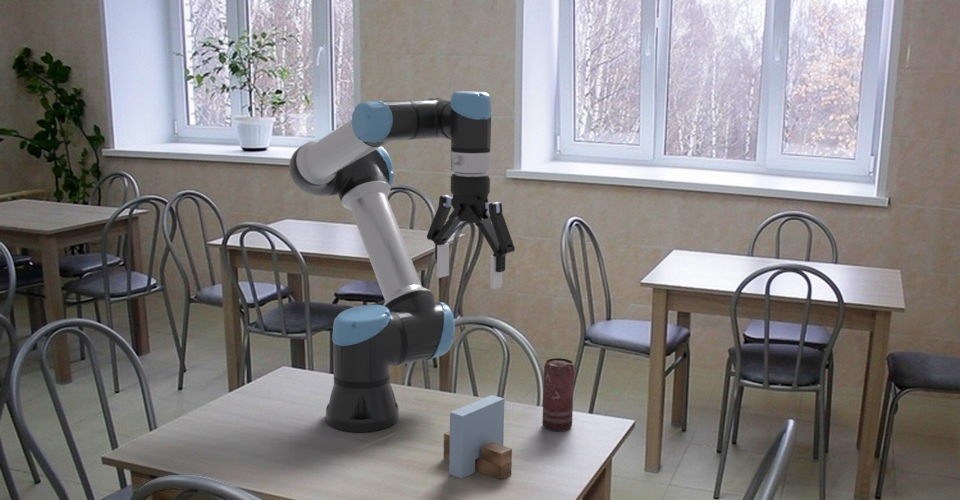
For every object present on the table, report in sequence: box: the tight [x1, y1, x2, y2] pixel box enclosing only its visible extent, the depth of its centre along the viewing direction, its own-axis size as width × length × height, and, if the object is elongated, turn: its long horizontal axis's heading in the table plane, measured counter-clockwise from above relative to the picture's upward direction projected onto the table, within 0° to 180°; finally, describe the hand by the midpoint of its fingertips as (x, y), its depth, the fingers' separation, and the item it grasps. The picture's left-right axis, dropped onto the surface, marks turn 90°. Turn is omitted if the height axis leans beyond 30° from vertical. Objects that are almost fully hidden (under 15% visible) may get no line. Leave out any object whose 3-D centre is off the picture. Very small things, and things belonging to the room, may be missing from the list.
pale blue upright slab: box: [448, 394, 505, 479], centre depth 182 cm, size 3×12×12 cm, turn 140°
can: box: [542, 357, 576, 432], centre depth 201 cm, size 6×6×14 cm
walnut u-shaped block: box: [443, 430, 513, 480], centre depth 183 cm, size 14×3×5 cm, turn 50°
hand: (469, 282), depth 191 cm, fingers open, 13 cm apart
